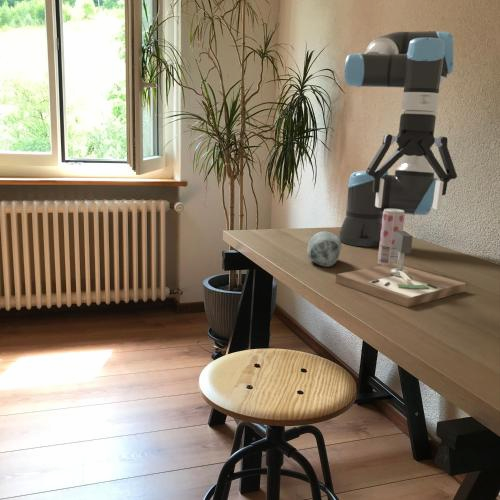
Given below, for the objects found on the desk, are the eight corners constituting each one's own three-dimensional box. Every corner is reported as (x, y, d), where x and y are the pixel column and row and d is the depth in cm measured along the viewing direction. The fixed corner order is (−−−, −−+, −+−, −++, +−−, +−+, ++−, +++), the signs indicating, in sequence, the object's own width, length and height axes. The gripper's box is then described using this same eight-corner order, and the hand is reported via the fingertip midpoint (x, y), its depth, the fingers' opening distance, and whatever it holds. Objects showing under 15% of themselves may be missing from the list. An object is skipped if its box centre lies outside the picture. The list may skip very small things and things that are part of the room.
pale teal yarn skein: (347, 259, 132) (332, 222, 133) (312, 273, 134) (298, 237, 135) (349, 259, 145) (335, 226, 146) (317, 272, 147) (304, 239, 148)
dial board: (393, 270, 136) (394, 261, 135) (464, 291, 121) (466, 281, 120) (335, 282, 123) (336, 272, 122) (407, 307, 107) (408, 296, 107)
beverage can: (395, 262, 145) (402, 208, 142) (401, 267, 139) (407, 212, 136) (375, 261, 145) (381, 207, 142) (379, 266, 139) (386, 211, 136)
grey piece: (387, 270, 127) (391, 230, 125) (403, 271, 127) (408, 231, 125) (399, 284, 116) (404, 240, 114) (417, 284, 116) (423, 241, 114)
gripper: (366, 110, 111) (357, 208, 117) (481, 115, 112) (466, 212, 118) (358, 110, 119) (350, 203, 124) (466, 115, 119) (453, 207, 125)
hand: (407, 208), depth 121 cm, fingers open, 13 cm apart
